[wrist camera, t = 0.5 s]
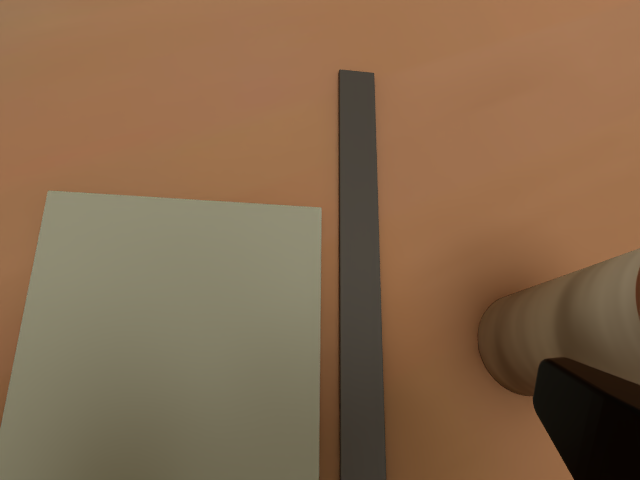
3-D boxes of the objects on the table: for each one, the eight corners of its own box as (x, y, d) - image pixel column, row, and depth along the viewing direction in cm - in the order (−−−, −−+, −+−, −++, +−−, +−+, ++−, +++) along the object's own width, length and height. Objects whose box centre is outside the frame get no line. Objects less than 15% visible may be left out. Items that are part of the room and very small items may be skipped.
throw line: (391, 736, 18) (394, 741, 18) (340, 740, 18) (342, 746, 18) (372, 76, 27) (374, 72, 27) (338, 72, 27) (339, 69, 27)
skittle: (590, 345, 24) (942, 300, 12) (534, 420, 23) (872, 457, 10) (516, 274, 25) (779, 161, 13) (456, 342, 23) (690, 289, 11)
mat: (320, 210, 24) (321, 207, 24) (317, 491, 20) (318, 493, 20) (51, 193, 23) (48, 190, 22) (-9, 498, 19) (-14, 500, 18)
